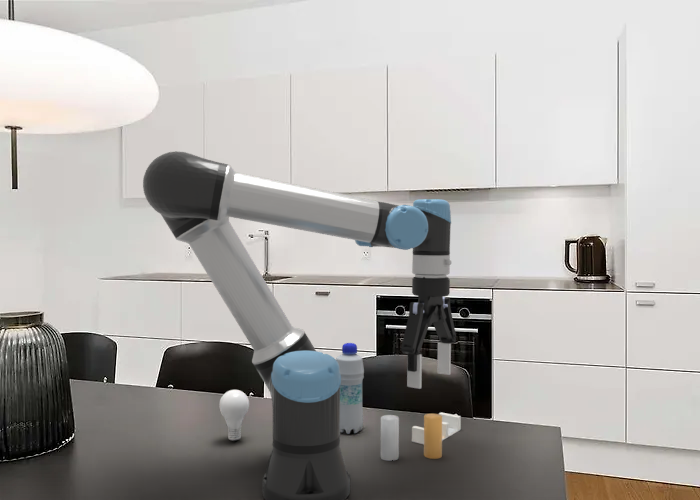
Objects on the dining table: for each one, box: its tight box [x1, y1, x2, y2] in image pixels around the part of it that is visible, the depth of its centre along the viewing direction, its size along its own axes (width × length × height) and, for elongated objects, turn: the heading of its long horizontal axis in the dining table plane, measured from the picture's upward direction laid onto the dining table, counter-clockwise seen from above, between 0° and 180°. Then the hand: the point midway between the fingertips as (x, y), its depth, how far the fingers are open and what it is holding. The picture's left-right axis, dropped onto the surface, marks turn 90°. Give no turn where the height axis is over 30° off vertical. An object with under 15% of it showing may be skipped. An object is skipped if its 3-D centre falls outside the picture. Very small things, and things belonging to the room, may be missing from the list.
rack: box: [411, 411, 462, 445], centre depth 134 cm, size 13×5×3 cm, turn 143°
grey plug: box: [380, 414, 400, 462], centre depth 121 cm, size 4×4×8 cm
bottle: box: [335, 342, 365, 435], centre depth 137 cm, size 7×7×20 cm
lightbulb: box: [218, 389, 250, 442], centre depth 130 cm, size 6×6×11 cm
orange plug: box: [423, 413, 443, 460], centre depth 122 cm, size 4×4×8 cm
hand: (429, 380), depth 123 cm, fingers open, 13 cm apart
